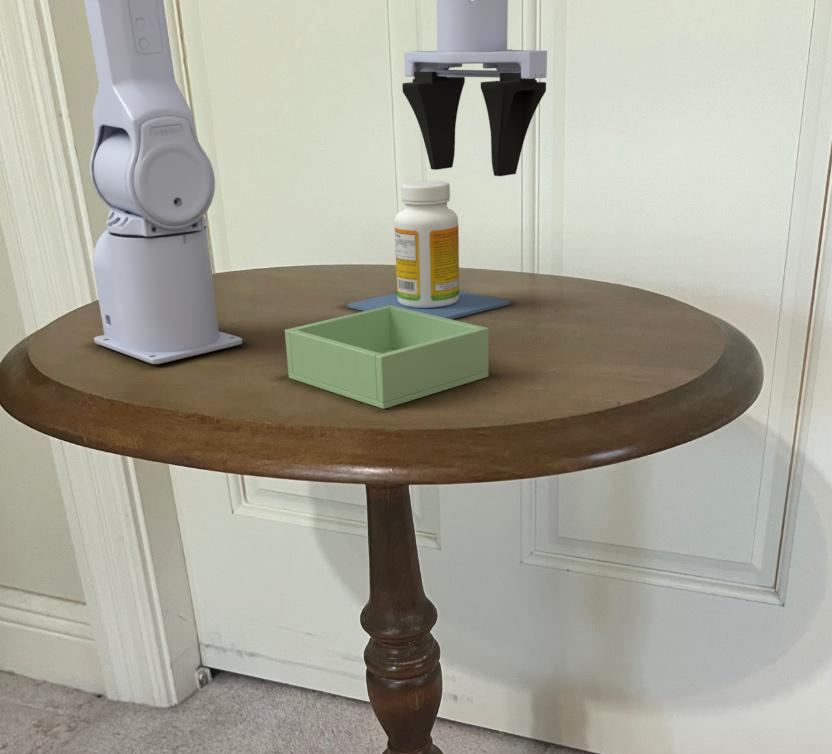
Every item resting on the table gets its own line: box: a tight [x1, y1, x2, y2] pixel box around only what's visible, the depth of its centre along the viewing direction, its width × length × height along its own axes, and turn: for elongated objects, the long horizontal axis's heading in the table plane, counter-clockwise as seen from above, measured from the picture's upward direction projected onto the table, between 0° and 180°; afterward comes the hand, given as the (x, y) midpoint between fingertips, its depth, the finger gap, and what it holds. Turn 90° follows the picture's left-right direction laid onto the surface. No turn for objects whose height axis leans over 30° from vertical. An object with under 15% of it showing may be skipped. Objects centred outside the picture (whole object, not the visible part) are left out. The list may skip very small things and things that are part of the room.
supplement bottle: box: [394, 180, 460, 308], centre depth 92 cm, size 5×5×10 cm
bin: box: [284, 305, 490, 410], centre depth 75 cm, size 10×10×3 cm
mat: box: [347, 290, 510, 320], centre depth 94 cm, size 10×10×1 cm
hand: (472, 171), depth 93 cm, fingers open, 7 cm apart
